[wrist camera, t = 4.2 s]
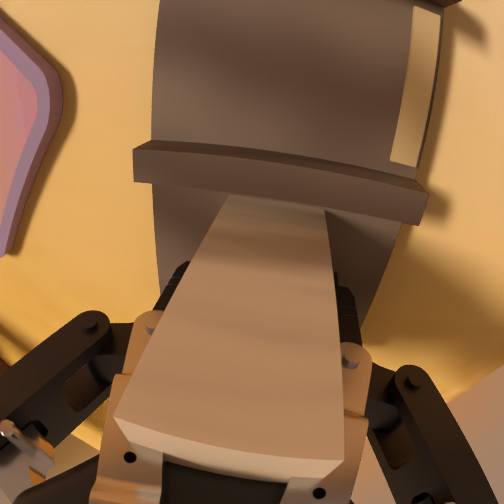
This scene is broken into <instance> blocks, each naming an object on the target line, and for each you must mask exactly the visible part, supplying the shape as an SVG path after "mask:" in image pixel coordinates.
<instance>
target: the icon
mask: <svg viewBox="0 0 504 504" xmlns="http://www.w3.org/2000/svg"><path fill="white" fill-rule="evenodd" d="M62 108H63V91H62V84H61V80H60V77H59V75H58V73H57V71H56V69H55V68H54V67H53V66H52V65H51V64H50V63H49V62H48V61H47V60H46V59H45V58H44V57H43V56H41V55H40V54H39V53H38V52H37V51H36V50H35V49H34V48H33V47H32V46H31V45H30V44H29V43H28V42H27V41H26V40H25V39H24V38H23V37H22V36H20V35H19V34H18V33H17V32H16V31H15V30H14V29H13V28H12V27H11V26H10V25H9V24H8V23H7V22H6V21H5V20H4V19H3V18H2V17H1V16H0V258H1V257H3V256H4V255H5V254H6V253H7V252H8V251H10V250H11V249H12V247H13V244H14V240H15V236H16V233H17V229H18V226H19V222H20V219H21V216H22V213H23V210H24V207H25V204H26V201H27V198H28V195H29V192H30V190H31V187H32V184H33V182H34V179H35V177H36V174H37V172H38V169H39V167H40V164H41V162H42V160H43V157H44V155H45V153H46V150H47V148H48V146H49V144H50V142H51V140H52V137H53V135H54V133H55V131H56V129H57V127H58V125H59V122H60V119H61V115H62Z"/></svg>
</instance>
